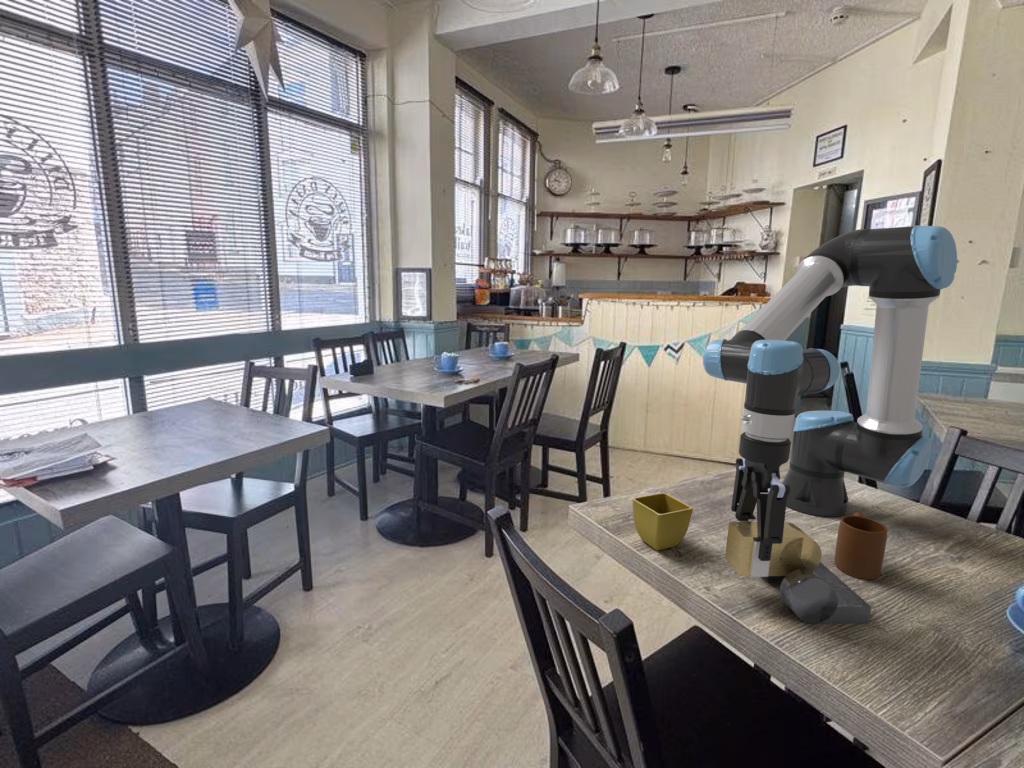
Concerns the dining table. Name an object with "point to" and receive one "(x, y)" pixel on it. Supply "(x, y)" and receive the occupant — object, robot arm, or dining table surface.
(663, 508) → the flower pot
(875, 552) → the mug
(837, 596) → the hinge base leaf
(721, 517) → the dining table surface
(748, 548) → the brass curved block
